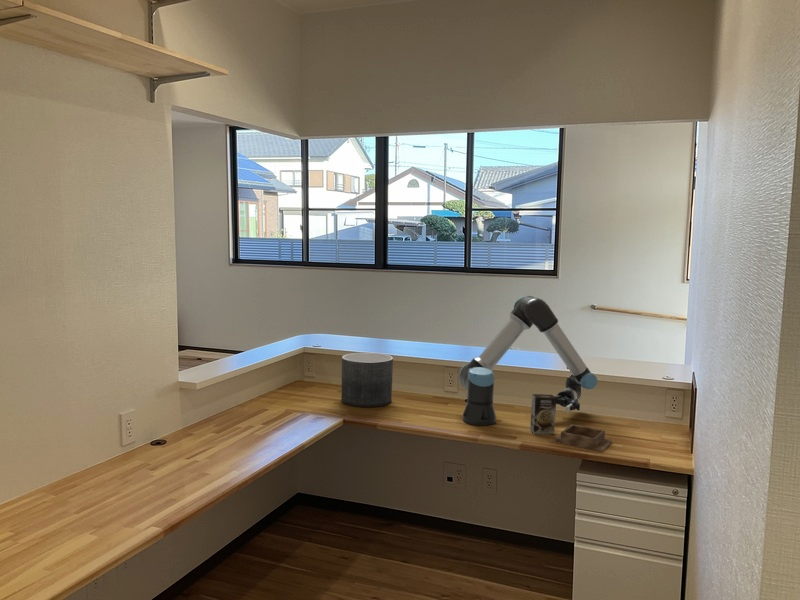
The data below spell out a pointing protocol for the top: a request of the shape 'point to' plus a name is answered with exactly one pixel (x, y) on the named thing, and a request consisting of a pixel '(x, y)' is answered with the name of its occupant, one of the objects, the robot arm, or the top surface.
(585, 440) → the stand
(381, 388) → the planter
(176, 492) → the top surface
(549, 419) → the coffee box
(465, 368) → the robot arm
